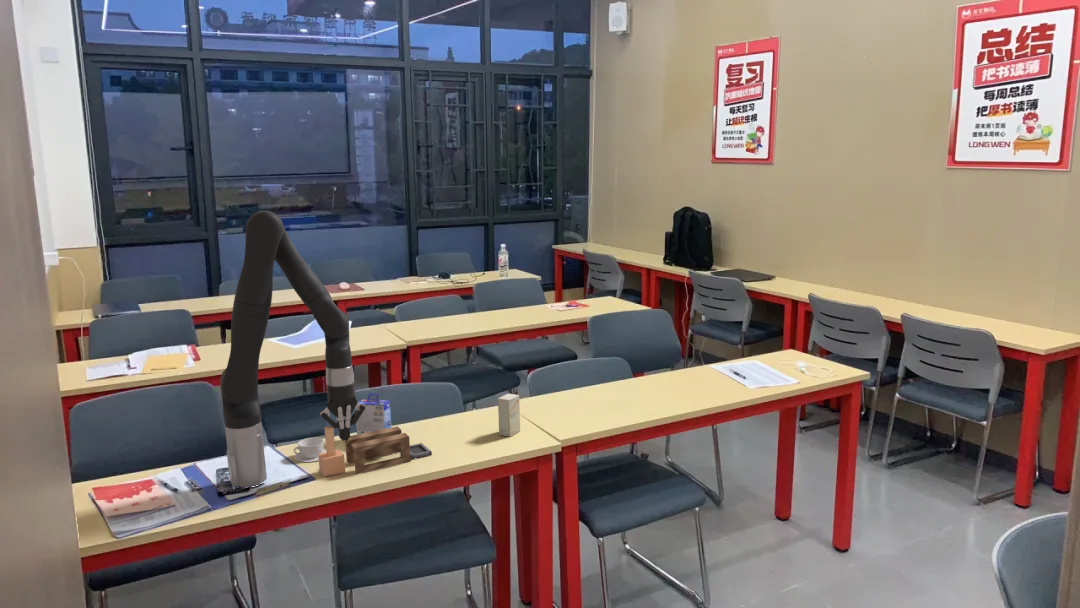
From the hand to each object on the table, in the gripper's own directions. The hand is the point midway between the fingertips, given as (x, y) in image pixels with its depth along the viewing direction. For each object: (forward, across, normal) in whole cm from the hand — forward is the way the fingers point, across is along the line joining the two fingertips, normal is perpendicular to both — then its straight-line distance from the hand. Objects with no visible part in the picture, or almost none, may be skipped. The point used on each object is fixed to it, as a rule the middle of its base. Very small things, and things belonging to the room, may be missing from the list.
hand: (344, 439), depth 217 cm
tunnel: (+9, +9, 0) cm, 13 cm away
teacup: (+9, -6, +15) cm, 19 cm away
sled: (+9, -4, 0) cm, 10 cm away
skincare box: (+9, +52, 0) cm, 53 cm away
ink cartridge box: (+9, +14, +18) cm, 25 cm away
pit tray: (+9, +21, 0) cm, 23 cm away
